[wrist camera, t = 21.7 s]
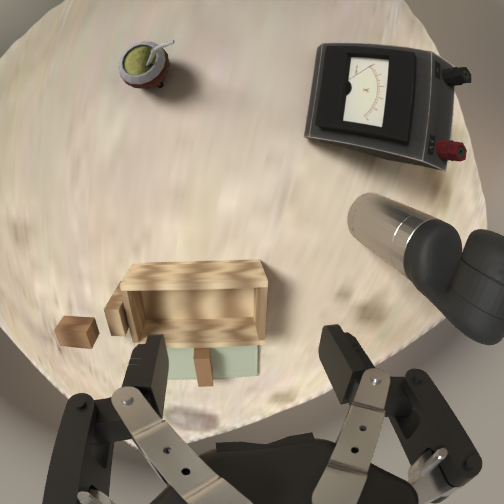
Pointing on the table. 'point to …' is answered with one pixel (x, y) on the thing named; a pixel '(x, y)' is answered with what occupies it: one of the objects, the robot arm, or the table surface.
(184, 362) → the lid
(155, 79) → the mate gourd
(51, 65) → the table surface
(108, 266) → the table surface
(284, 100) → the table surface
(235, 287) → the toolbox
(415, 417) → the robot arm
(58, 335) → the wooden block
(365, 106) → the voltmeter
